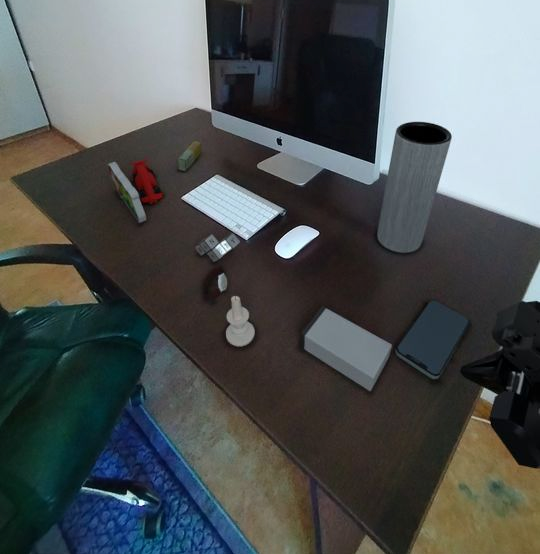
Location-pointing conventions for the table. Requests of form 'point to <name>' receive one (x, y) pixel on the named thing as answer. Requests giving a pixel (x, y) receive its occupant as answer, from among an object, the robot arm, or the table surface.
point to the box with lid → (346, 347)
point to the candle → (239, 324)
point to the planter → (412, 184)
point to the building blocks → (216, 246)
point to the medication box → (189, 156)
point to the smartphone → (432, 339)
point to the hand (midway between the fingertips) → (462, 371)
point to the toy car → (145, 182)
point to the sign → (127, 192)
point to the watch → (221, 282)
